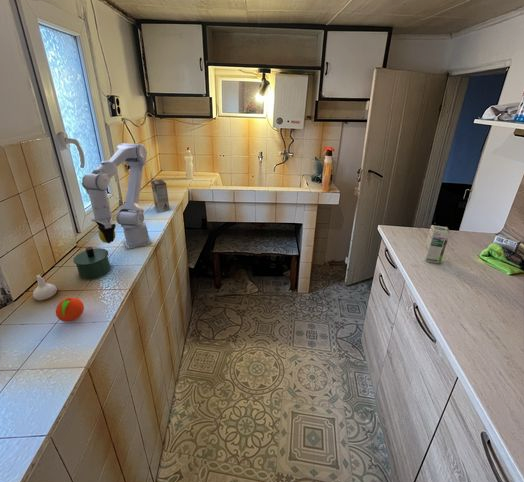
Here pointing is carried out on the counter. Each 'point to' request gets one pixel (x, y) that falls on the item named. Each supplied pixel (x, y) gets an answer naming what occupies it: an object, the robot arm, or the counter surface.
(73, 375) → the counter surface
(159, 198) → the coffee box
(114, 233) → the lemon
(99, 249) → the pot lid
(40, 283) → the garlic bulb
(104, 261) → the pot
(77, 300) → the red tomato
